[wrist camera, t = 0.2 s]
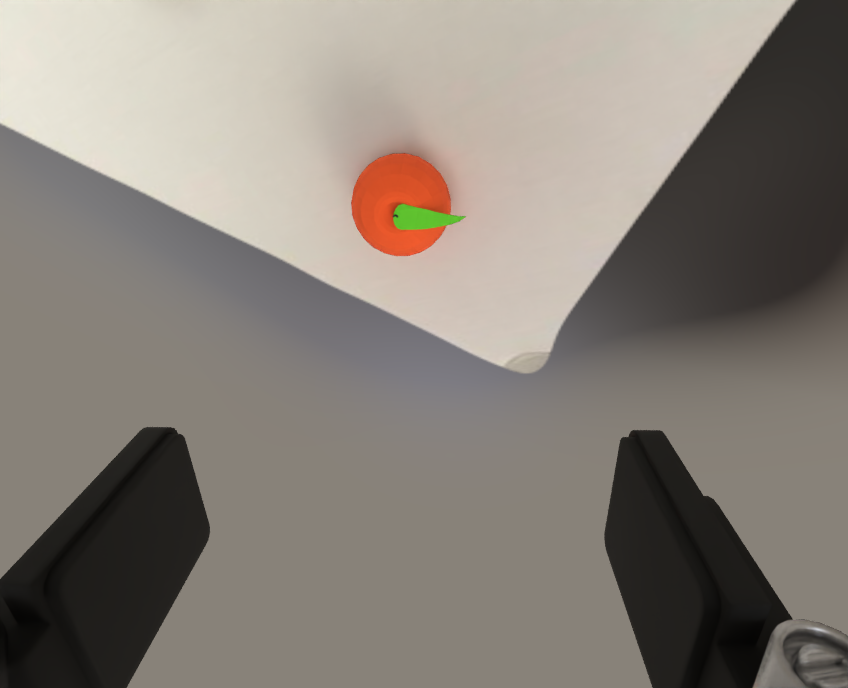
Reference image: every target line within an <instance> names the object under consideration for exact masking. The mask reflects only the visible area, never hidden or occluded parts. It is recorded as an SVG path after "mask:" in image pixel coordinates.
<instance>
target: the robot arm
mask: <svg viewBox="0 0 848 688" xmlns="http://www.w3.org/2000/svg"><path fill="white" fill-rule="evenodd" d="M209 534H210V526H209V522H208V518H207V515H206V511H205V508H204V504H203V501H202V498H201V494H200V490H199V487H198V483H197V480H196V476H195V472H194V469H193V465H192V462H191V458H190V455H189V451H188V448H187V444H186V441H185V438H184V437H183V435H181V434H178V433H177V431H176V430H175V429H174V428H171V427H146V428H143V429H142V430H141V431H140V432H139V433H138V434H137V435H136V436H135V437H134V438H133V439H132V440H131V441H130V442H129V443H128V444H127V445H126V447H125V448H124V449H123V450H122V451H121V452H120V453H119V454H118V455H117V456H116V457H115V458H114V459H113V460H112V461H111V462H110V463H109V464H108V466H107V467H106V468H105V469H104V470H103V471H102V472H101V473H100V474H99V475H98V476H97V477H96V478H95V479H94V480H93V481H92V483H91V484H90V485H89V486H88V487H87V488H86V489H85V490H84V491H83V492H82V493H81V495H79V496H78V498H76V500H75V501H74V502H73V503H72V504H71V505H70V506H69V507H68V508H67V509H66V510H65V511H64V512H63V513H62V514H61V515H60V517H58V519H57V520H56V521H55V522H54V523H53V524H52V525H51V526H50V527H49V528H48V529H47V530H46V531H45V532H44V533H43V534H42V536H41V537H40V538H39V539H38V540H37V541H36V542H35V543H34V544H33V545H32V546H31V547H30V548H29V549H28V550H27V551H26V553H24V555H23V556H22V557H21V558H20V559H19V560H18V561H17V562H16V563H15V564H14V565H13V566H12V567H11V568H10V570H8V572H7V573H6V574H5V575H4V576H3V577H2V578H1V579H0V688H127V686H128V684H129V682H130V680H131V679H132V677H133V675H134V673H135V671H136V669H137V668H138V666H139V664H140V662H141V661H142V659H143V657H144V655H145V653H146V652H147V650H148V648H149V646H150V644H151V643H152V641H153V639H154V637H155V635H156V634H157V632H158V630H159V628H160V626H161V625H162V623H163V621H164V619H165V617H166V616H167V614H168V612H169V610H170V608H171V607H172V605H173V603H174V601H175V599H176V598H177V596H178V594H179V592H180V590H181V589H182V587H183V585H184V583H185V581H186V580H187V578H188V576H189V574H190V572H191V571H192V569H193V567H194V565H195V563H196V562H197V560H198V558H199V556H200V554H201V553H202V551H203V549H204V547H205V545H206V543H207V541H208V538H209ZM605 547H606V551H607V554H608V557H609V560H610V563H611V566H612V569H613V572H614V575H615V578H616V581H617V584H618V586H619V590H620V592H621V595H622V598H623V601H624V604H625V607H626V610H627V613H628V616H629V619H630V622H631V625H632V628H633V631H634V634H635V637H636V640H637V643H638V646H639V649H640V652H641V655H642V657H643V660H644V664H645V666H646V669H647V672H648V675H649V678H650V681H651V684H652V687H653V688H848V636H847V635H846V634H844V633H842V632H841V631H839V630H837V629H834V628H832V627H830V626H826V625H825V624H822V623H819V622H814V621H810V620H805V619H796V620H793V619H792V617H791V616H790V614H789V613H788V611H787V610H786V608H785V607H784V605H783V604H782V602H781V601H780V599H779V598H778V596H777V595H776V593H775V591H774V590H773V588H772V587H771V585H770V584H769V582H768V581H767V579H766V578H765V576H764V575H763V573H762V571H761V570H760V569H759V567H758V565H757V564H756V562H755V561H754V559H753V558H752V556H751V555H750V553H749V551H748V550H747V548H746V547H745V545H744V544H743V543H742V541H741V539H740V538H739V536H738V535H737V533H736V532H735V530H734V529H733V527H732V525H731V524H730V522H729V521H728V519H727V518H726V516H725V515H724V513H723V512H722V510H721V509H720V507H719V505H718V504H717V503H716V502H715V501H714V499H712V498H710V497H709V496H703V494H702V493H701V491H700V490H699V488H698V486H697V485H696V483H695V482H694V480H693V479H692V477H691V475H690V474H689V472H688V471H687V469H686V467H685V466H684V464H683V463H682V461H681V460H680V458H679V456H678V455H677V453H676V452H675V450H674V448H673V447H672V445H671V444H670V442H669V440H668V439H667V437H666V436H665V434H664V433H663V432H662V431H660V430H659V431H658V430H656V431H655V430H654V431H653V430H652V431H651V430H633V431H631V432H630V434H629V437H623V438H621V440H620V445H619V451H618V457H617V462H616V468H615V475H614V481H613V487H612V493H611V498H610V504H609V510H608V516H607V522H606V528H605Z"/></svg>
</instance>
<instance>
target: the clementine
mask: <svg viewBox="0 0 848 688" xmlns="http://www.w3.org/2000/svg"><path fill="white" fill-rule="evenodd" d="M351 205H352V215H353V219H354V221H355V224H356V227H357V229H358V231H359V232H360V233H361V235H362V236H363V238H364V239H365V240H366V241H367V242H368V243H369V244H370V245H371V246H373V247H374V248H376V249H378V250H380V251H381V252H383V253H386V254H390V255H394V256H410V255H413V254H417V253H420V252H422V251H424V250H425V249H427V248H429V247H430V246H432V245H433V244H434V242H435V241H436V240H437V239H438V238H439V237H440V236H441V235H442V233H443V231H444V229H445V227H446V226H447V225H450V224H453V223H456V222H458V221H460V220H462V219H463V218H465V217H466V216H454V215H450V212H451V199H450V194H449V191H448V187H447V184H446V183H445V181H444V179H443V177H442V176H441V174H440V173H439V172H438V171H437V170H436V169H435V168H434V167H433V166H432V165H431V164H430V163H429V162H427V161H425V160H423V159H422V158H420V157H418V156H414V155H410V154H406V153H402V154H390V155H387V156H384V157H380V158H378V159H377V160H375V161H374V162H372V163H371V164H369V165H368V166H367V167H366V168H365V170H364V171H363V172H362V173H361V174H360V176H359V178H358V180H357V182H356V185H355V187H354V190H353V196H352V202H351Z"/></svg>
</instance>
